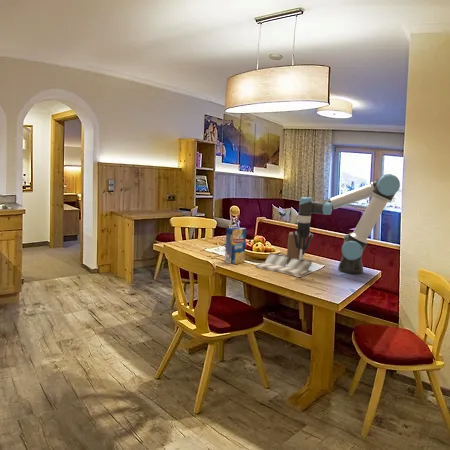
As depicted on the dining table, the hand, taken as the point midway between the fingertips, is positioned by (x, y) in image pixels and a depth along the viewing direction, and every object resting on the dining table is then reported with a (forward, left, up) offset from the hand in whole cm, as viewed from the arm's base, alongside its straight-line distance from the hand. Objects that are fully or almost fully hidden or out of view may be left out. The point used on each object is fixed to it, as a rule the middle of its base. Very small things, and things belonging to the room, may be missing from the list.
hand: (301, 259), depth 251 cm
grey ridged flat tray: (+7, +13, -6) cm, 16 cm away
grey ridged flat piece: (+15, +3, -3) cm, 16 cm away
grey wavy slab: (0, +2, -4) cm, 5 cm away
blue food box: (+40, +14, -6) cm, 43 cm away
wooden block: (+9, -13, -6) cm, 18 cm away
